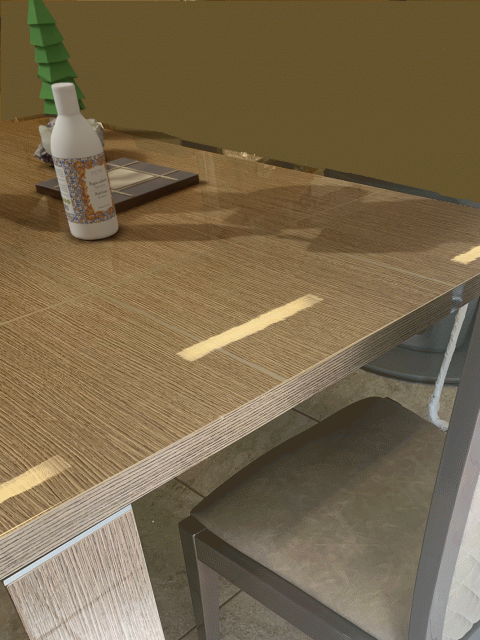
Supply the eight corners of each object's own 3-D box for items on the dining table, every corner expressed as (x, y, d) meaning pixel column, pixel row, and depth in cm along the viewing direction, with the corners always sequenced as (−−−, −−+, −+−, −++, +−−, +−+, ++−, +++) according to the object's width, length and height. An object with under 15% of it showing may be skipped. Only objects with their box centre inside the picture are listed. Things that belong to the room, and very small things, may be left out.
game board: (36, 192, 112) (34, 183, 111) (124, 165, 125) (122, 156, 124) (113, 214, 103) (111, 204, 102) (199, 182, 116) (198, 173, 115)
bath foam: (91, 244, 93) (56, 91, 81) (61, 234, 96) (23, 85, 84) (128, 230, 97) (100, 83, 85) (99, 221, 100) (67, 78, 88)
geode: (66, 201, 124) (130, 171, 130) (55, 160, 116) (124, 130, 122) (17, 154, 129) (81, 127, 135) (3, 111, 120) (72, 84, 127)
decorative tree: (39, 137, 143) (-3, -27, 125) (67, 128, 150) (31, -29, 132) (74, 141, 140) (37, -27, 122) (101, 131, 147) (70, -29, 129)
